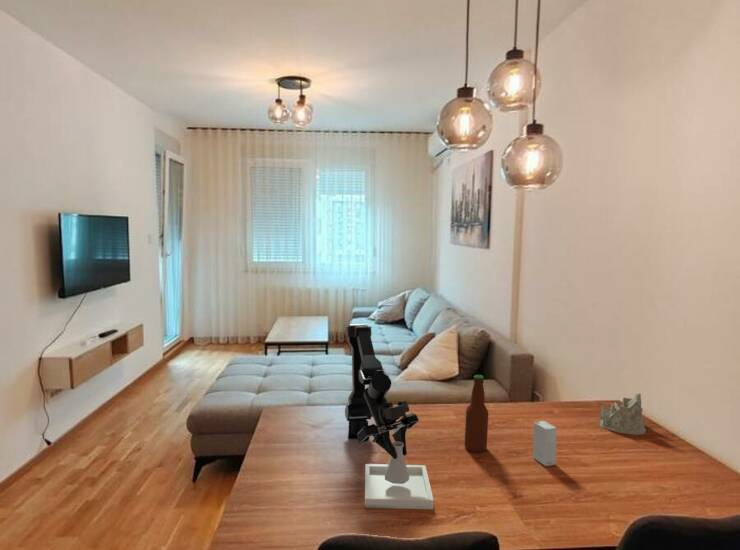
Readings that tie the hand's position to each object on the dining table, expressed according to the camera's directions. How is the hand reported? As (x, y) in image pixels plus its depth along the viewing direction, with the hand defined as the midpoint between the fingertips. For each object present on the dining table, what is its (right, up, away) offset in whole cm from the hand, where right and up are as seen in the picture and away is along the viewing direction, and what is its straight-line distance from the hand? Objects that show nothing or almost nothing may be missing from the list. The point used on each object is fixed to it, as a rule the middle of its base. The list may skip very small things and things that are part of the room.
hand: (400, 456), depth 129 cm
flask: (-1, -7, +2) cm, 7 cm away
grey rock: (+88, -7, +49) cm, 101 cm away
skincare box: (+47, -9, +20) cm, 52 cm away
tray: (-1, -10, +2) cm, 10 cm away
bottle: (+27, -8, +28) cm, 40 cm away
